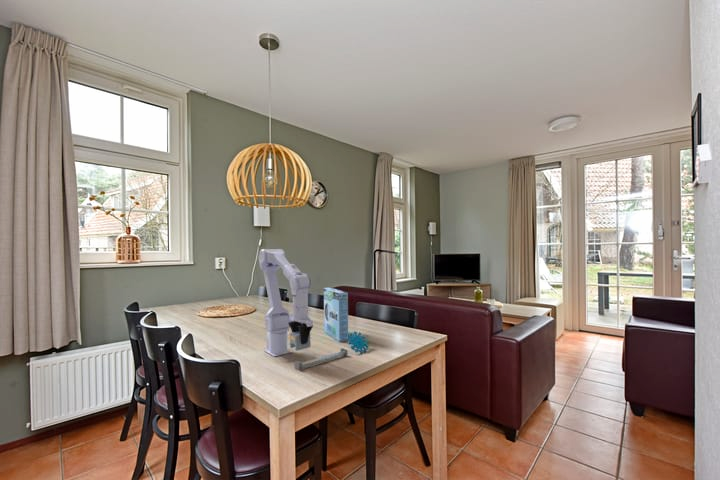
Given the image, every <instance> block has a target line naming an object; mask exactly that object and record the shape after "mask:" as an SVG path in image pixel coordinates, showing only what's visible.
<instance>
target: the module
mask: <svg viewBox="0 0 720 480" xmlns="http://www.w3.org/2000/svg"><path fill="white" fill-rule="evenodd" d="M289 348H290V349H293V348H294V351H296V352H298V351H301V350H304V349H309V348H311V333H310V334H309V337H308V341H307V343H306V344H301V338H300V332H299V331H297V332H292V331H291V332H289Z"/></svg>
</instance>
